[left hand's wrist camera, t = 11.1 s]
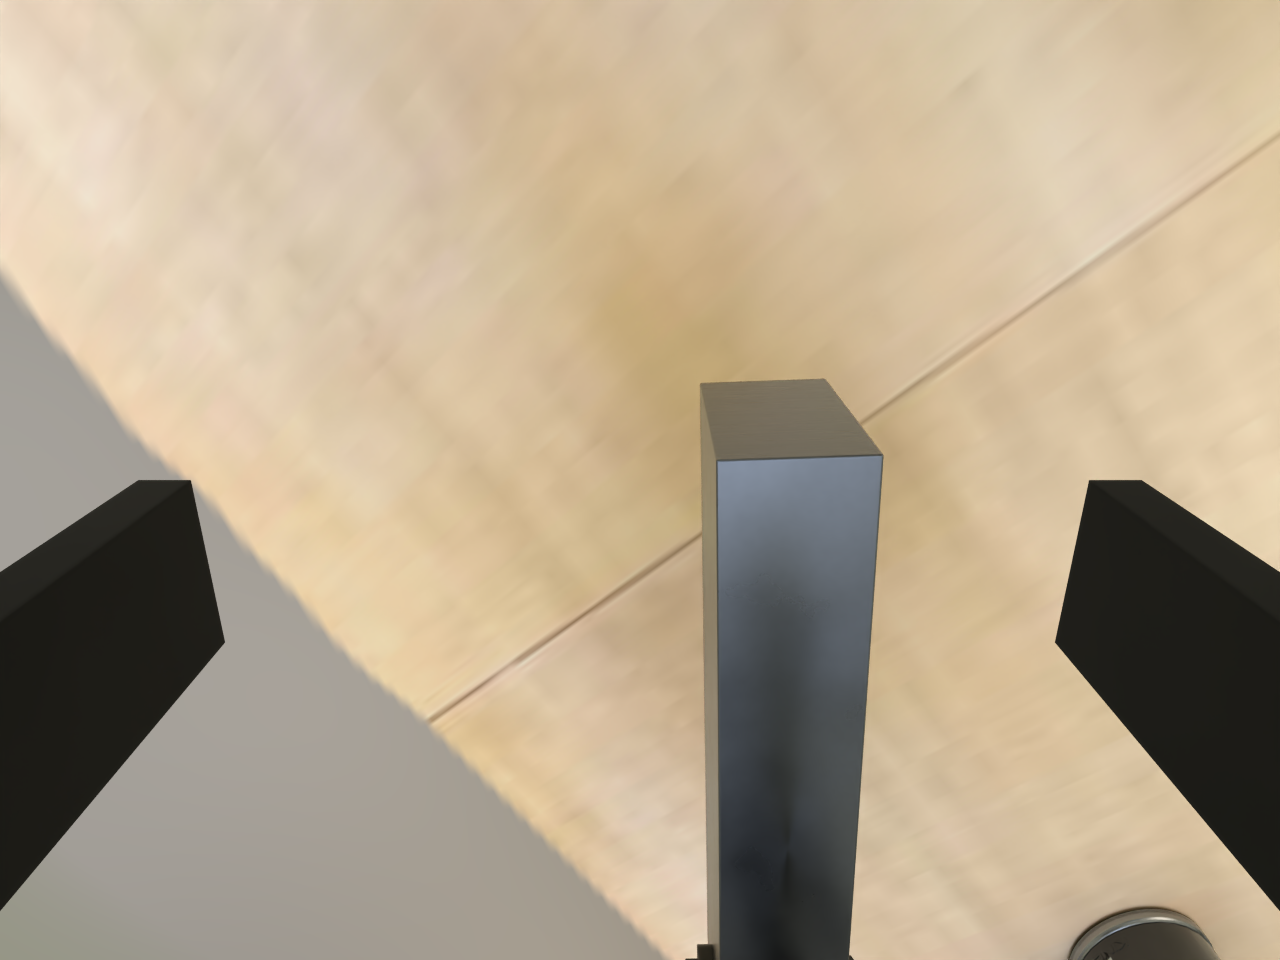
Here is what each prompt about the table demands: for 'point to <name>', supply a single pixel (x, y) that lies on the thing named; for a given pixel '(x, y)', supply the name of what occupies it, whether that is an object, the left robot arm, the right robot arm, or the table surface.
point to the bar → (784, 662)
